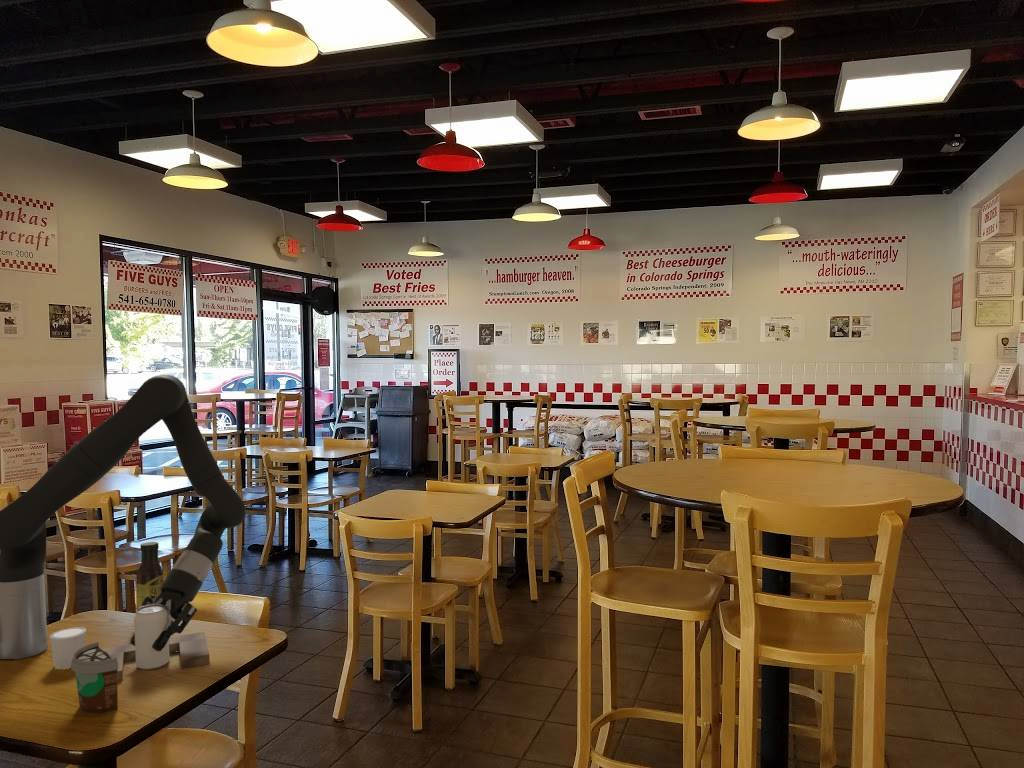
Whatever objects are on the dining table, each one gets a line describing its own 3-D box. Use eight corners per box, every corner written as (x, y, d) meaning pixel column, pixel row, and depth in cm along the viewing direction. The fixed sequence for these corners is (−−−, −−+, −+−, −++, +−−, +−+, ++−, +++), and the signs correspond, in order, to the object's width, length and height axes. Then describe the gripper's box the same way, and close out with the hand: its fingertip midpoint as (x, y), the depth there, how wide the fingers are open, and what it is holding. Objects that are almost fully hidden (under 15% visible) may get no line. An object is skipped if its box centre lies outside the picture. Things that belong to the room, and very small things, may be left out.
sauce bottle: (154, 628, 180) (151, 547, 180) (131, 627, 181) (128, 546, 181) (171, 619, 187) (168, 540, 186) (148, 618, 188) (145, 540, 187)
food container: (64, 701, 143) (62, 650, 142) (99, 690, 147) (97, 640, 147) (83, 723, 134) (80, 668, 133) (120, 711, 138) (117, 658, 138)
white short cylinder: (76, 655, 165) (75, 624, 164) (94, 661, 161) (93, 629, 161) (44, 667, 159) (42, 635, 159) (61, 673, 155) (60, 640, 155)
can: (156, 671, 155) (153, 614, 155) (129, 669, 157) (126, 613, 156) (176, 658, 162) (173, 604, 161) (149, 656, 163) (147, 602, 162)
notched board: (91, 685, 149) (91, 675, 149) (96, 658, 163) (95, 649, 163) (209, 663, 159) (209, 654, 159) (204, 640, 172) (204, 631, 172)
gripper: (154, 564, 168) (109, 635, 158) (201, 570, 162) (158, 644, 152) (174, 580, 173) (132, 650, 163) (221, 587, 167) (180, 660, 157)
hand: (145, 647), depth 157 cm, fingers closed on can, 6 cm apart
